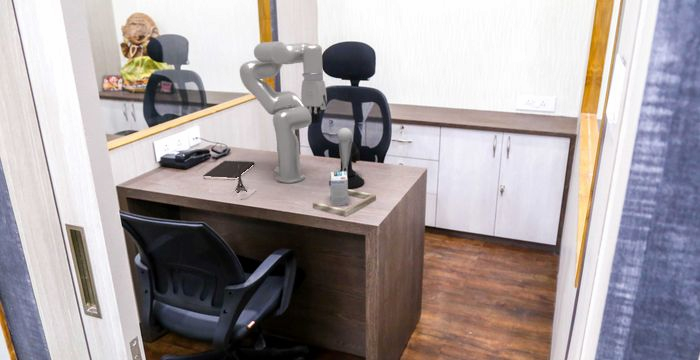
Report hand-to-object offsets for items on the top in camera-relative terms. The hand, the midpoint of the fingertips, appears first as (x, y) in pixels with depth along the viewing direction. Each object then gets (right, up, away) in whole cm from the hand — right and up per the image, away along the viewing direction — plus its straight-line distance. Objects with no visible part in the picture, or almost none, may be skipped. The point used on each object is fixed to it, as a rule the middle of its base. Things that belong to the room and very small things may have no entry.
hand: (315, 122), depth 211 cm
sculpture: (+14, -24, +20) cm, 34 cm away
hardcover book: (-43, -20, +37) cm, 60 cm away
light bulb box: (+10, -32, -3) cm, 33 cm away
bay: (+12, -33, -7) cm, 35 cm away
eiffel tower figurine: (-31, -30, +8) cm, 44 cm away
